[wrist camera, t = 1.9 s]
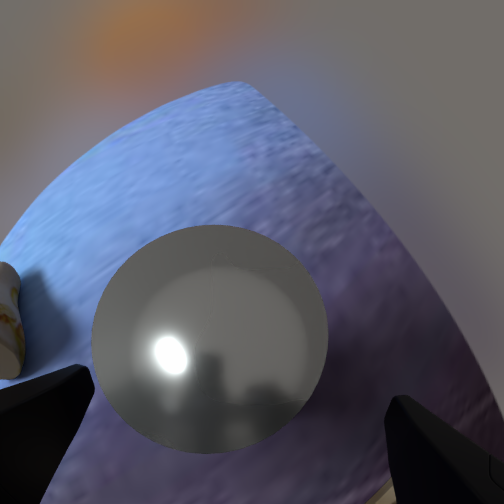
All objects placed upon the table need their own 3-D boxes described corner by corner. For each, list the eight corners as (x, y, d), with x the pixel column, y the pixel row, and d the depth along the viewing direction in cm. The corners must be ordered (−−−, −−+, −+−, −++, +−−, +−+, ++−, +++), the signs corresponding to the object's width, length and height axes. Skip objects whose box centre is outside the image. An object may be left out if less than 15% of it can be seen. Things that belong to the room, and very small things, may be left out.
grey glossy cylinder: (249, 436, 14) (183, 499, 3) (207, 391, 15) (62, 310, 4) (297, 395, 15) (377, 329, 4) (254, 352, 16) (219, 193, 5)
